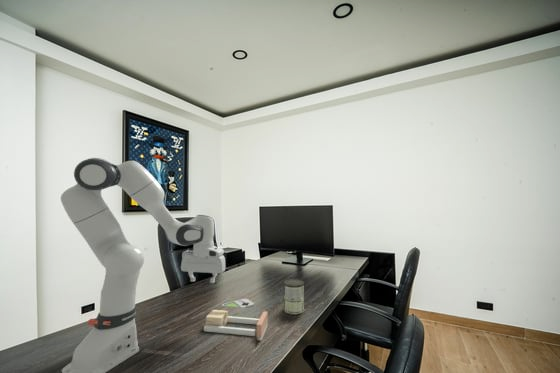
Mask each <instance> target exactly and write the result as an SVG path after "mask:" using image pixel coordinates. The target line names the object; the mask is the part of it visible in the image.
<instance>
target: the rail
mask: <svg viewBox="0 0 560 373" xmlns="http://www.w3.org/2000/svg"><path fill="white" fill-rule="evenodd" d="M268 317H269V312H268V311H266V310H265V311H264V310H263V312H262V313H261V315H260V317H259V318H253V317H245V316H231V315H228V322H227V324H226V325H225V326H213V325H206V324H205V325H204V326H203V330H201V332H202V333H204V332H205V333H212V334H221V335H224V334H225V335H230V336H231V335H232V336H233V335H235V336H239V337H241V336H242V337H244V336H245V337H253V338H256V341H262V340H263V339H264V338H263V337H264V334H265V332H266V330H267V328H268V325H269V324H268V323H269V321H268V319H269V318H268Z"/></svg>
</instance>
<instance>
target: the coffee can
mask: <svg viewBox="0 0 560 373" xmlns="http://www.w3.org/2000/svg"><path fill="white" fill-rule="evenodd" d="M304 285H305V282H304V281H303V280H302V279H297V278H290V279H285V280H284V281H283V288H284V289H283V290H284V291H283V292H284V294H283V295H284V296H283V303H284V304H283V307H284V308H283V310H284V312H285V313H286V314H289V315H299V314H302V313H304V310H305V309H304V305H305V302H304V289H305V288H304Z"/></svg>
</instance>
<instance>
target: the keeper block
mask: <svg viewBox="0 0 560 373" xmlns="http://www.w3.org/2000/svg"><path fill="white" fill-rule="evenodd" d="M228 316H229V312H228V310H220V309H212V310H211V311H210V312H209V313H208V314H207V315H206V317H205V325H213V326H225V327H226V324H228V323H229V322H228Z"/></svg>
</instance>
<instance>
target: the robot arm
mask: <svg viewBox="0 0 560 373" xmlns="http://www.w3.org/2000/svg"><path fill="white" fill-rule="evenodd" d="M73 170H74V171H73V177H74V180H75V182H76V184H75V185H73V186H72V187H69V188H68V189H66V190H64V191H63V193H62V194H61V195H60V202H61V204H62V206H63V208H64V211H65V213H66V214H67V217H68V218H69V220H70V221H71V223H72V224H73V225H74V227H75V228H76V229H77V231H78V232H79V233H80V235H81V236H82V237H83V239H84V240H85V242H86V243H87V245H88V247H89V248H90V250H91V252H93V254H94V255H95V257H96V258H97V260H98V262H99V263H100V264H101V265H102V267H104V268H105V275H104V279H103V286H102V288H101V290H100V301H99V312H98V314H97V316H96V318H95V319H94V318H89V319H88V321H87V326H91V327H93V328H92V329H91V330H90V332H89V331H88V332H89V333H87V335H86V336H85V337H84V338H83V340H82V341H81V342H80V343H79V344H78V345H77V346H76V348H75V349H74V351H73V354H72V360H71V361H70V363H68V364H66V366H63V368H62V369H61V372H62V373H107V372H109V371H110V370H112V369H113V368H115V367H116V366H118V365H119V364H122V363H123V362H125V361H126V360H127V359H130V357H132V356H134V355H136V354H137V353H139V352H140V347H139V345H138V344H139V341H138V332H137V330H138V329H137V324H136V317H137V306H136V294H137V292H136V291H137V285H138V280H139V277H140V271H141V269H142V268H143V265H144V262H145V259H144V258H145V257H144V254H143V252H142V250H141V249H140V248H139V247H138V246H136V245H133V244H131V243H130V242H129V241H128V239H127V237H126V236H125V234H124V232H123V230H122V227H121V224H120V223H119V221H118V219H117V218H116V216H115V215H114V213H113V212H112V210H111V209H110V207H109V206H108V204H107V203H106V202H105V200H104V199H103V197H102V191H103V190H105V189H107V188H110V187H111V188H112V187H115V186H118V187H120V188H121V189H122V190H123V191H124V192H125V193H126V194H127V195H128V196H129V197H130V198H131V199H132V200H133V201H134V202H135V204H137V205H139V206H140V207H141V208H143V209H144V210H145V211H146V212H148V213H149V214H150V215H151V216H152V217H153V218H154V220H155V221H156V222H157V223H158V224H159V226H161V228H162V230H163V232H164V236H165V238H166V240H167V241H168V242H169V243H171V244H174V245H175V244H176V245H179V246H183V247H188V246H191V245H193V249H192V250H191V249H190V250H189V249H186V250H185V251H182V254H181V258H182V259H181V263H180V269H181V271H182V272H188V276H189V279H190V282H196V276H194V273H205V274H206V273H208V274H212V277H211V278H210V279H209V280H210V281H209V283H211V284H214V283H216V278H217V276H218V274H222V273H224V272H225V271H226V257H225V256H224V253H225V251H224V249H223V248H220V247H218V246H216V245H215V243H214V236H215V222H214V221H215V220H214V218H213V217H212V216H210V215H205V214H204V215H203V214H197V215H196V216H195V217H193V218H191V219H189V220H188V221H185V222H183V221H179V220H178V219H176V218H175V217H174V216H173V214H172V213H171V212H170V211H169V209H168V208H167V207H166V205H165V202H164V198H165V191H164V188H163V187H162V186H161V184H160V182H158V180H157V178H155V177H154V176H153V174H152V173H151V172H150V171H149V170H148V169H146V167H144V166H143V165H142V164H141V163H139V162H138V161H135V160H127V161H124V162H122V163H120V164H114V163H111V162H110V161H108V160H107V159H104V158H100V157H91V158H87V159H85V160H82V161H80V162H79V163H78V164H77V165H76V166H75V167H74V169H73Z"/></svg>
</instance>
